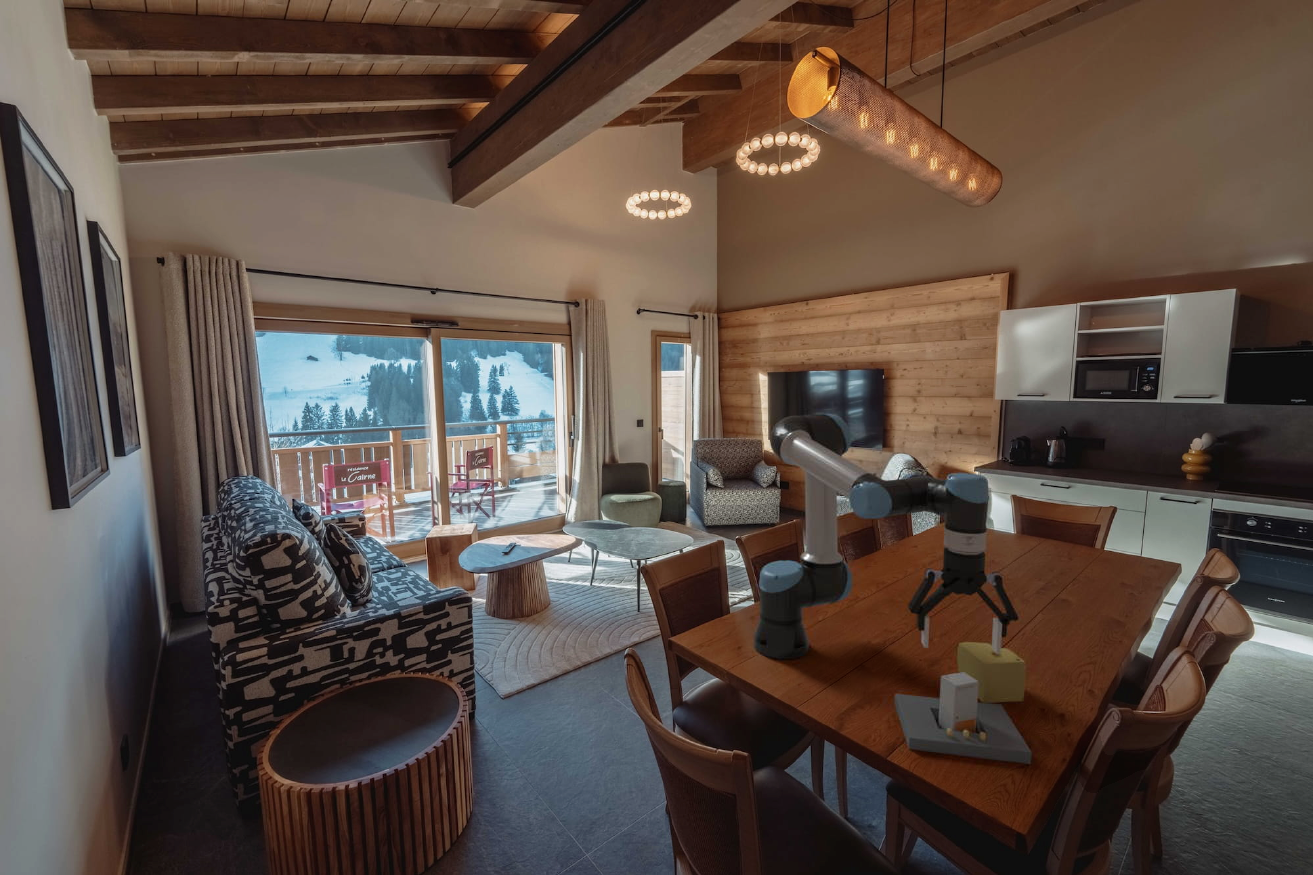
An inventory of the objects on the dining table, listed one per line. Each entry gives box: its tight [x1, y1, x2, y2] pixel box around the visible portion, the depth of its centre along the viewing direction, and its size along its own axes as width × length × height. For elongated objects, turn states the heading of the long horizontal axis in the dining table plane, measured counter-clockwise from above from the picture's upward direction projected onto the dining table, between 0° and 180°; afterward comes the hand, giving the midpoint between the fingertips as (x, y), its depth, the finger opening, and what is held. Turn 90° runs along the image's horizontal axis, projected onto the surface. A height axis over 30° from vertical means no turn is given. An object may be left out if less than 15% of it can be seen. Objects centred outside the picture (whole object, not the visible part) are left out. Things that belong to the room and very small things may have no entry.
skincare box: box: [937, 672, 979, 733], centre depth 118 cm, size 6×4×12 cm
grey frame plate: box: [894, 693, 1032, 765], centre depth 119 cm, size 22×16×4 cm
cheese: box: [956, 641, 1027, 704], centre depth 133 cm, size 10×11×10 cm
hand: (959, 647), depth 117 cm, fingers open, 13 cm apart
